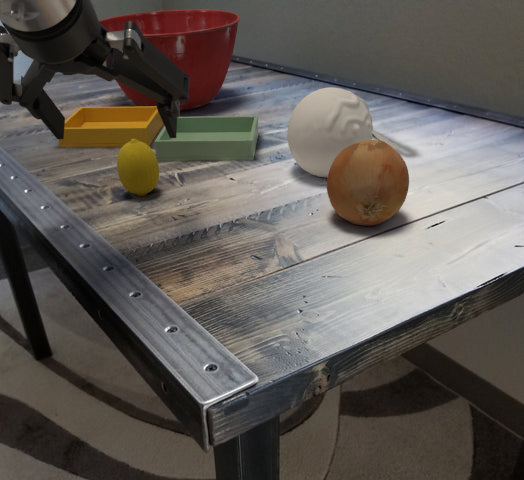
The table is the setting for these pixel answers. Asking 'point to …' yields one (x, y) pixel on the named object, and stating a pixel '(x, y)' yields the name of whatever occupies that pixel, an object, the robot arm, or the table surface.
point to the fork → (385, 140)
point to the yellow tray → (111, 126)
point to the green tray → (209, 139)
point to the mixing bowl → (186, 48)
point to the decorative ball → (327, 128)
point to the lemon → (137, 167)
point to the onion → (368, 182)
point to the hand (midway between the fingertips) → (117, 128)
